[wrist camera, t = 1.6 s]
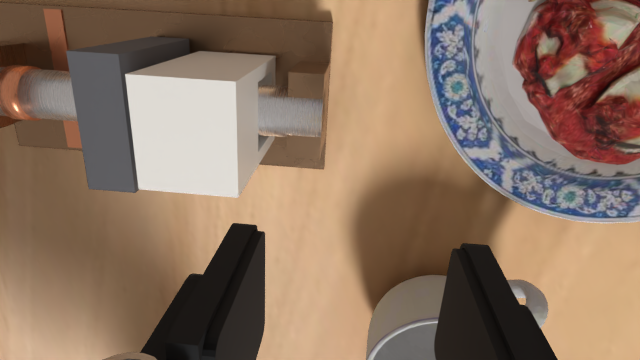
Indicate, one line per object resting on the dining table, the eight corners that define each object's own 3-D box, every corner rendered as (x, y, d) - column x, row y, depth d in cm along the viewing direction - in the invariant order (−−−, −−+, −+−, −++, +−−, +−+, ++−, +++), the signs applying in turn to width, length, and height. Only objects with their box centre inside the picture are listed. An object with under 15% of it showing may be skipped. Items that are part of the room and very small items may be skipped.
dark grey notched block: (195, 141, 31) (134, 192, 23) (160, 139, 31) (88, 188, 23) (188, 38, 28) (118, 54, 20) (151, 36, 29) (66, 50, 20)
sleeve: (274, 139, 30) (238, 197, 21) (204, 133, 31) (138, 189, 22) (275, 55, 28) (235, 81, 19) (199, 50, 28) (125, 74, 19)
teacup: (409, 378, 39) (421, 466, 32) (336, 296, 36) (330, 371, 29) (556, 307, 35) (609, 389, 28) (486, 208, 32) (524, 270, 25)
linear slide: (332, 22, 28) (326, 27, 23) (324, 166, 32) (316, 202, 26) (-6, 2, 30) (-93, 2, 24) (24, 143, 33) (-44, 171, 28)
